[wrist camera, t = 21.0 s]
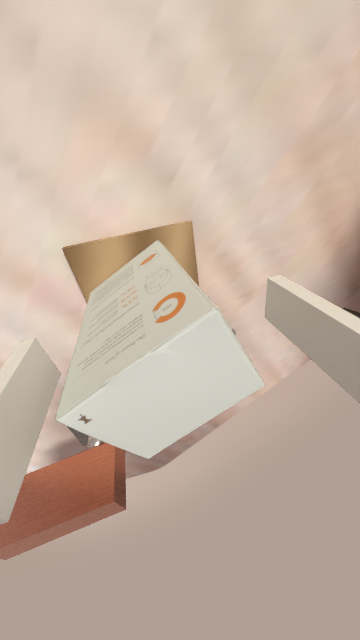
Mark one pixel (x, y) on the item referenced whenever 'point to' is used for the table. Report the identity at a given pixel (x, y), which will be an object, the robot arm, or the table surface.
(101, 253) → the cork pad
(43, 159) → the table surface
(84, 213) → the table surface
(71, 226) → the table surface
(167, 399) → the small box
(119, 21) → the table surface
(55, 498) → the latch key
